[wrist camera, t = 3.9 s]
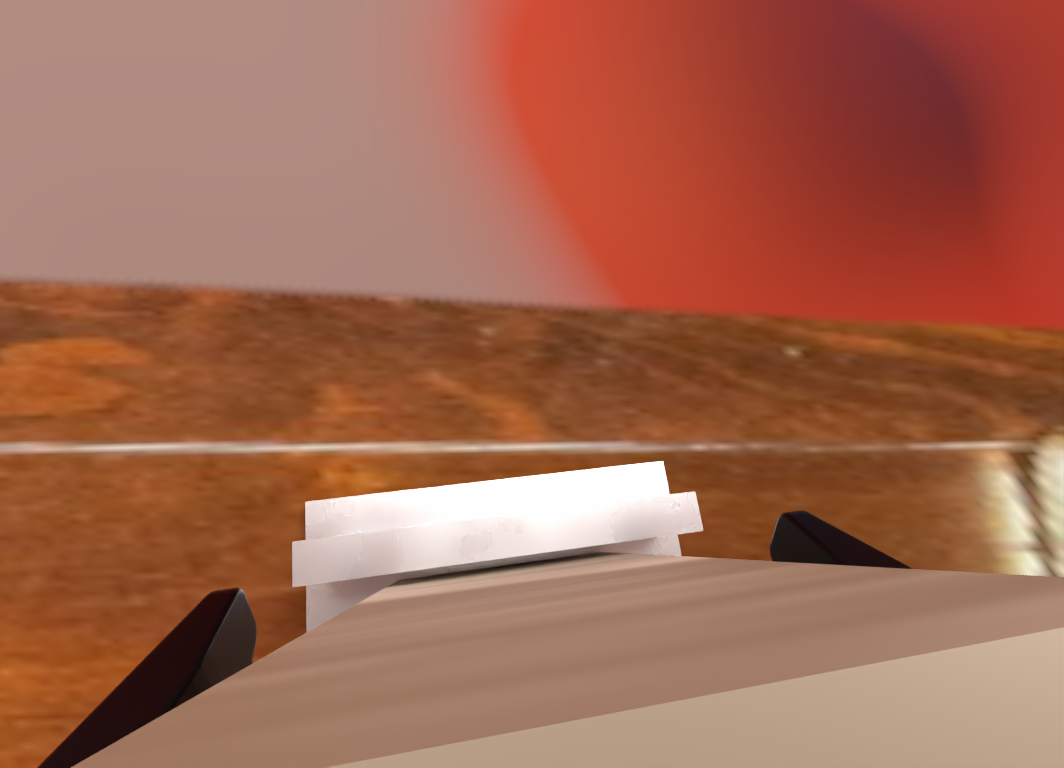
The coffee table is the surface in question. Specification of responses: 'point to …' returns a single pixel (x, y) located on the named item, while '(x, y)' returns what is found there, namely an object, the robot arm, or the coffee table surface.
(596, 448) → the coffee table surface
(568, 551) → the rack
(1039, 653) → the birch board
